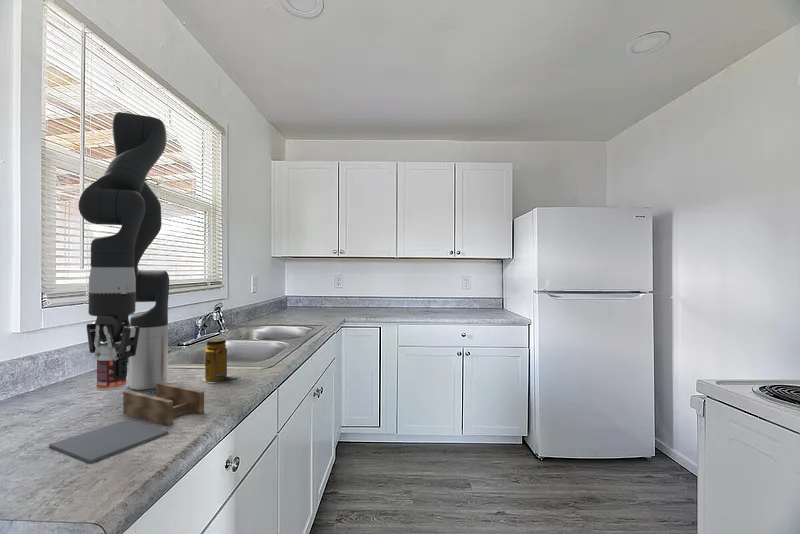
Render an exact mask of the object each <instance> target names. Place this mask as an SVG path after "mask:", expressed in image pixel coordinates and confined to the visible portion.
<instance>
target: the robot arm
mask: <svg viewBox="0 0 800 534" xmlns="http://www.w3.org/2000/svg"><path fill="white" fill-rule="evenodd" d="M111 130H112V137H113V146H114V152H115V157H114V158H113V159H112V160H111V161H110V163H109V164H108V166H107V168H106V171H105V172H104V174H103V175H102V176H101V177H99V178H98V179H97V180H95V181H94V182H92V183H90V185H88V186H87V187H86V188H85V189H84V190H83V192H82V193H81V195H80V197H79V200H78V212H79V213H80V216H81V217H82V218H83V219H84V220H85V221H86V222H88V223H90V224H93V225H101V226H102V225H107V226H108V225H109V226H121V227H120V228H119V231H117V232H116V233H115V234H111V235H106V236H100V237H96V238H94V239H92V240H91V244H90V269H89V270H90V271H89V276H88V315H89V316H91V317H96V319H95V322H91V323H87V324H86V333H87V341H88V348H89V353H90V354H94V357H95V358H96V359H97V358H98V356H100V355H101V354H100V352H99V349H100V346H101V345H106V344H108V348H109V349H111V350H112V354H113V359H114V361H113V379H115V380H119V379H123V378H126V379H127V376H128V381H127V382H128V387H129V389H131V390H137V391H139V390H149V389H156V383H160V382H162V383H167V384H168V369H169V368H168V362H169V361H168V360H169V358H168V356H169V355H168V353H169V352H168V350H169V347H168V346H169V344H168V343H169V334H168V333H169V318H168V317H169V308H168V307H169V295H170V293H169V292H170V291H169V290H170V276H169V273H168V271H166V270H164V269H139V263H140V261H141V258H142V257H143V256H144V254H145V252H146V251H147V249H148V248H149V247H150V245H151V244H152V242H153V241H154V240H155V239H156V237H157V236H158V234H159V233H160V231H161V228H162V205H161V202H160V200H159V198H158V197H157V194H155V192H154V191H153V190H152V188H151V187H150V185H149V184H148V183H147V182H146V179H147V176H148V174H149V172H150V171H151V170H152V168H153V167H154V165H155V164H156V163H157V162H158V160H159V159H160V158H161V156H163V153H164V152H165V149H166V146H167V129H166V125H165V124H164V122H163V120H161V119H160V118H157V117H154V116H148V115H140V114H136V113H135V114H134V113H130V112H129V113H128V112H122V111H119V112H116V113H114V116H113V118H112V128H111ZM153 302H154V304H155V305H154V306H152V308H150V309H149V310H147V311H143V312H141V313H137V314H135V313H136V303H153ZM133 314H135V315H133ZM130 315H133V316H131V317H130V319H129V316H130ZM118 348H120V350H119V352H118Z"/></svg>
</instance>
